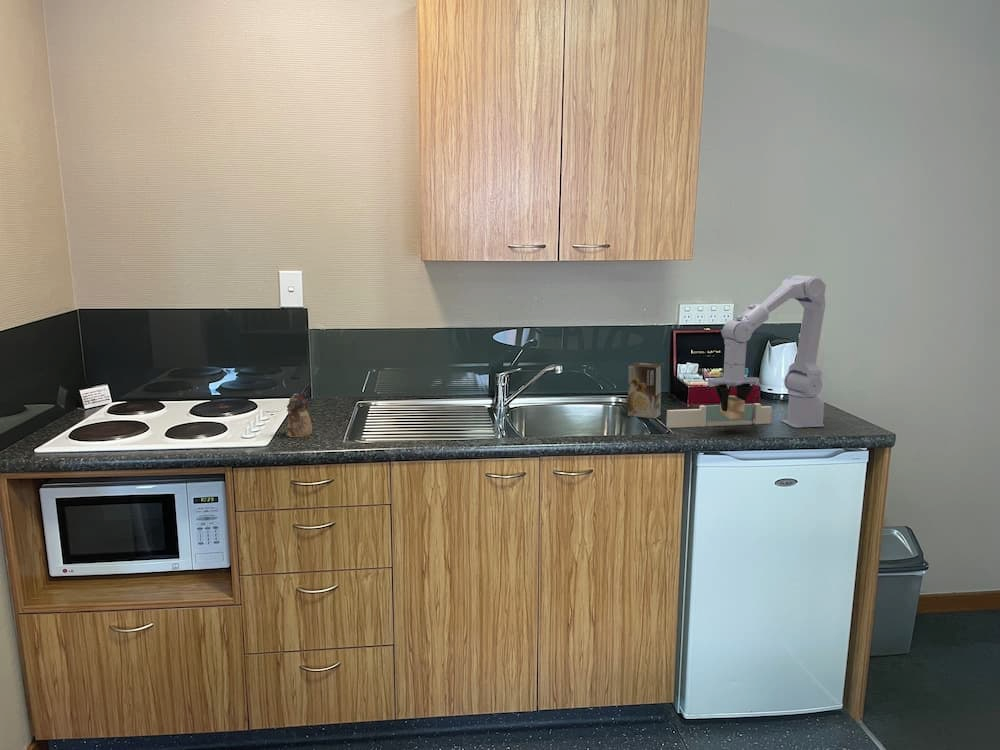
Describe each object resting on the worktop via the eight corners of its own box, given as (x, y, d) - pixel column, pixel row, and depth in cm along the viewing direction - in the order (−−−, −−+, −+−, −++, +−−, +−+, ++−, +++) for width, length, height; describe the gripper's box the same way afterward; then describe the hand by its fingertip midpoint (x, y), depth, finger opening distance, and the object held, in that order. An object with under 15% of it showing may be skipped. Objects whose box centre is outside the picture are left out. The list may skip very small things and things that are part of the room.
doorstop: (732, 412, 225) (733, 395, 224) (743, 418, 219) (744, 400, 218) (719, 412, 225) (720, 395, 224) (730, 418, 218) (731, 401, 217)
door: (753, 418, 232) (754, 403, 231) (754, 419, 231) (755, 404, 230) (705, 420, 230) (706, 405, 229) (707, 421, 229) (707, 406, 228)
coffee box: (661, 414, 243) (663, 364, 240) (655, 419, 238) (657, 367, 234) (633, 411, 247) (634, 361, 244) (626, 416, 242) (628, 365, 239)
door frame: (768, 422, 234) (769, 402, 232) (771, 423, 232) (772, 404, 231) (666, 426, 229) (666, 406, 228) (668, 428, 227) (669, 408, 226)
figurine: (285, 432, 224) (283, 391, 221) (310, 430, 226) (308, 389, 224) (287, 438, 217) (285, 396, 215) (313, 436, 220) (311, 394, 217)
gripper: (716, 366, 214) (713, 414, 216) (765, 365, 216) (762, 412, 219) (705, 362, 221) (703, 408, 223) (753, 360, 223) (750, 406, 225)
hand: (731, 410), depth 221 cm, fingers closed on doorstop, 4 cm apart
